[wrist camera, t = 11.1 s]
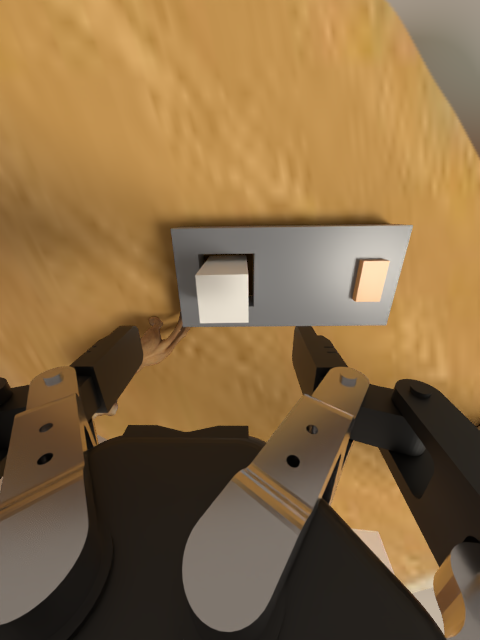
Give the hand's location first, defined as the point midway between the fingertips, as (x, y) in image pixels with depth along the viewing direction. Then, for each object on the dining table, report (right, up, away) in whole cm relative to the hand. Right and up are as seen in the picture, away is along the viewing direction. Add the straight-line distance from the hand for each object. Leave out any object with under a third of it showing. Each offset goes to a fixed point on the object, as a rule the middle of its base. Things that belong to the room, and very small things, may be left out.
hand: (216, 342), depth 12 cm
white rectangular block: (0, +6, +15) cm, 16 cm away
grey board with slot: (+6, +6, +14) cm, 17 cm away
